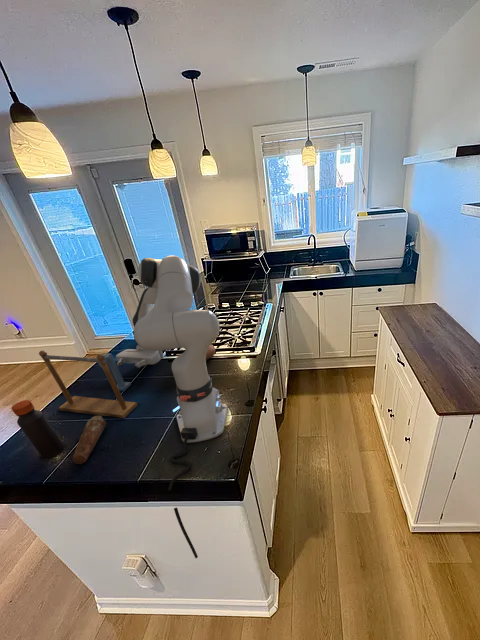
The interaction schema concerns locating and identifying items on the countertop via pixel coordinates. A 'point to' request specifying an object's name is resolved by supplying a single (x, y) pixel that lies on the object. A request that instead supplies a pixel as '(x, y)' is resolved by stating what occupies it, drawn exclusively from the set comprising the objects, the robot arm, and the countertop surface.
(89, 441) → the bread
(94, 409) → the rail stand
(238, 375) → the countertop surface
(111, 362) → the hanger
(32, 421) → the bottle
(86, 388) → the countertop surface
